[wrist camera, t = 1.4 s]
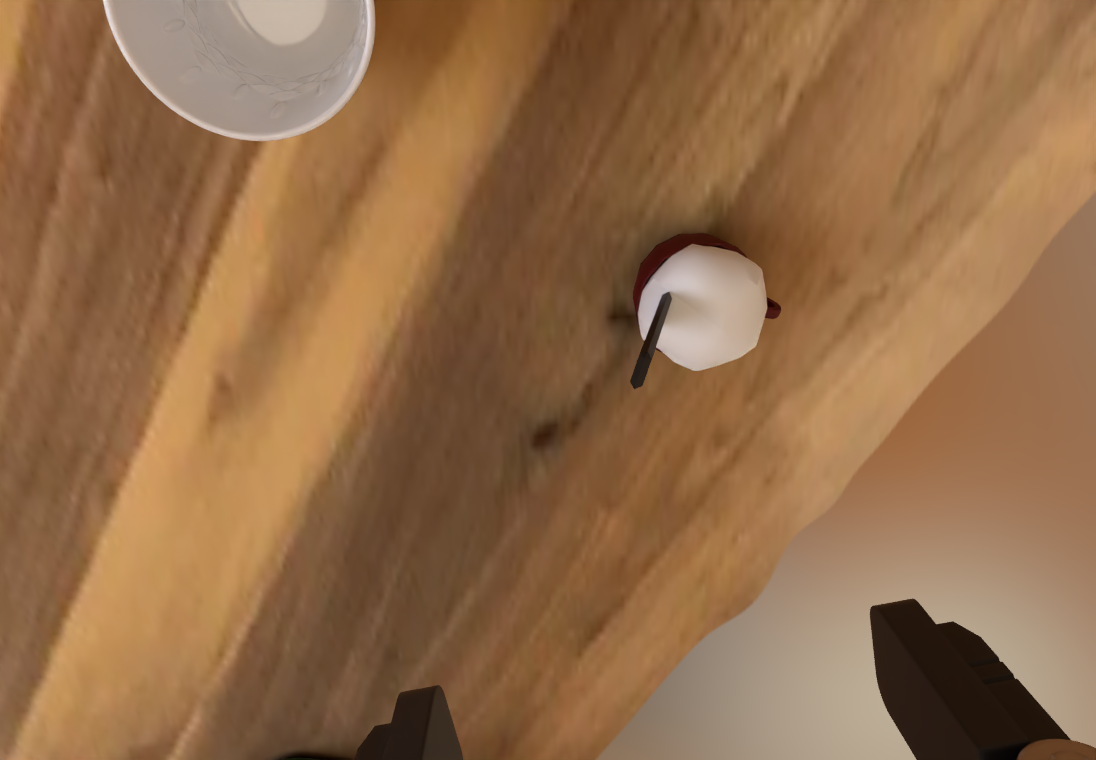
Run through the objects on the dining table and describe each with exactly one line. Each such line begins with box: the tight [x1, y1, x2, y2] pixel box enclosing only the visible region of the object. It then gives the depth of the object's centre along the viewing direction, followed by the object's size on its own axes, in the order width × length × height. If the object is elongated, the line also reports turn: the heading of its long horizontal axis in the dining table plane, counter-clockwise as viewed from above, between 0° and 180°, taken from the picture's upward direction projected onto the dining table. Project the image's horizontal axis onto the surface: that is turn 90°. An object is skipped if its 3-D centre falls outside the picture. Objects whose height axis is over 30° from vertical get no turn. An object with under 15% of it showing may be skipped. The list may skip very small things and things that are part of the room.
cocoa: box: [630, 233, 781, 389], centre depth 36 cm, size 10×6×12 cm, turn 54°
